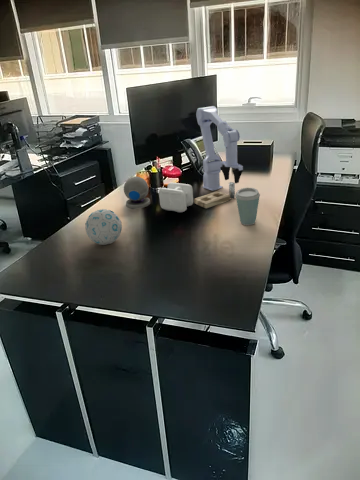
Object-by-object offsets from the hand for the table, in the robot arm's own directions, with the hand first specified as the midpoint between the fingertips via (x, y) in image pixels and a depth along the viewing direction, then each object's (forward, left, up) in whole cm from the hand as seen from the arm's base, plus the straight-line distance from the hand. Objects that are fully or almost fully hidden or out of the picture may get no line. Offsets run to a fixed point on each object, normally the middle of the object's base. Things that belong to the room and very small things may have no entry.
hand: (231, 181), depth 187 cm
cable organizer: (-9, -29, -9) cm, 32 cm away
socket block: (-3, -11, -9) cm, 15 cm away
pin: (0, 0, -9) cm, 9 cm away
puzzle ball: (+1, -73, -9) cm, 74 cm away
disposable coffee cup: (+28, -16, -9) cm, 34 cm away
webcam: (-29, -41, -9) cm, 51 cm away
